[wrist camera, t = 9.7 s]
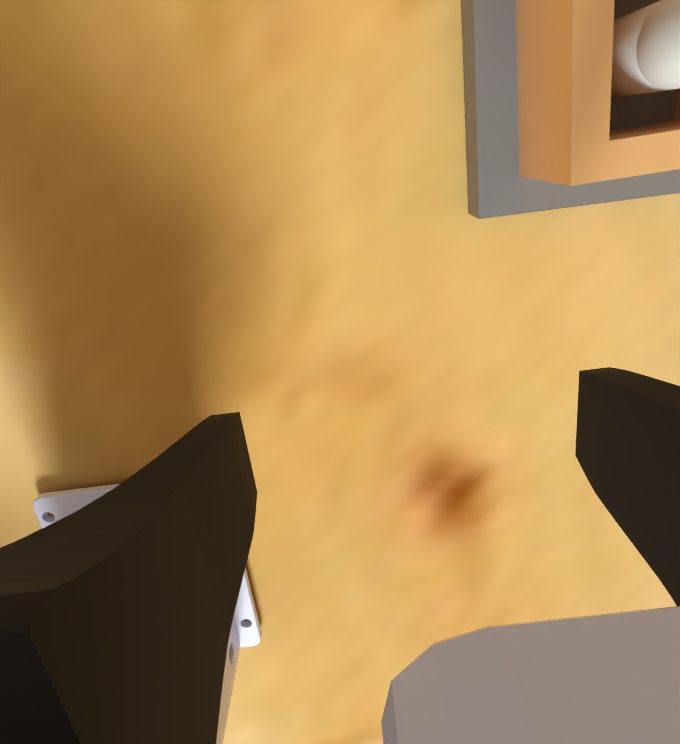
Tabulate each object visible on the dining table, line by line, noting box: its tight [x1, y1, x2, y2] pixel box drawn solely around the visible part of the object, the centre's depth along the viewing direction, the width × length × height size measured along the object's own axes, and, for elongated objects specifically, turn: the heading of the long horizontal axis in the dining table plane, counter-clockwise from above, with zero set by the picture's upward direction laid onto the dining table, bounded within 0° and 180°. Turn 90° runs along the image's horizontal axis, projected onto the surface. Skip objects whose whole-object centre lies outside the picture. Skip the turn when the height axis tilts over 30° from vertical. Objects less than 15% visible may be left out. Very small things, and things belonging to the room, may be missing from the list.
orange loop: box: [515, 0, 680, 186], centre depth 14 cm, size 6×6×4 cm
